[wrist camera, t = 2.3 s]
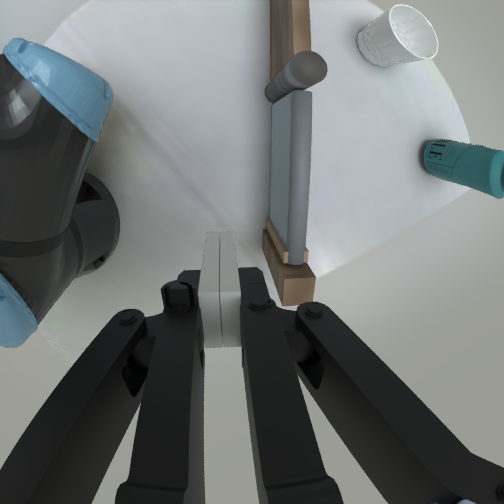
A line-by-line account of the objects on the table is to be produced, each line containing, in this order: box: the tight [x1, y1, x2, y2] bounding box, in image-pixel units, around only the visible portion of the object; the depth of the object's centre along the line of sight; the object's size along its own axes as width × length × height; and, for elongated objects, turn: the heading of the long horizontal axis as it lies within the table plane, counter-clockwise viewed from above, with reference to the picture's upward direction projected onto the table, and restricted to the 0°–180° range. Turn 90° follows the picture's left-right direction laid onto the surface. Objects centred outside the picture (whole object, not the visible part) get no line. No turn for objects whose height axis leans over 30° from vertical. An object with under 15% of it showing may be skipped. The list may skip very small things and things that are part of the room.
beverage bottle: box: [424, 139, 504, 199], centre depth 26 cm, size 6×7×20 cm
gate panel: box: [266, 90, 312, 265], centre depth 28 cm, size 16×2×12 cm, turn 0°
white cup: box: [357, 4, 438, 67], centre depth 23 cm, size 8×8×10 cm
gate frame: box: [263, 0, 327, 306], centre depth 25 cm, size 3×38×14 cm, turn 0°
